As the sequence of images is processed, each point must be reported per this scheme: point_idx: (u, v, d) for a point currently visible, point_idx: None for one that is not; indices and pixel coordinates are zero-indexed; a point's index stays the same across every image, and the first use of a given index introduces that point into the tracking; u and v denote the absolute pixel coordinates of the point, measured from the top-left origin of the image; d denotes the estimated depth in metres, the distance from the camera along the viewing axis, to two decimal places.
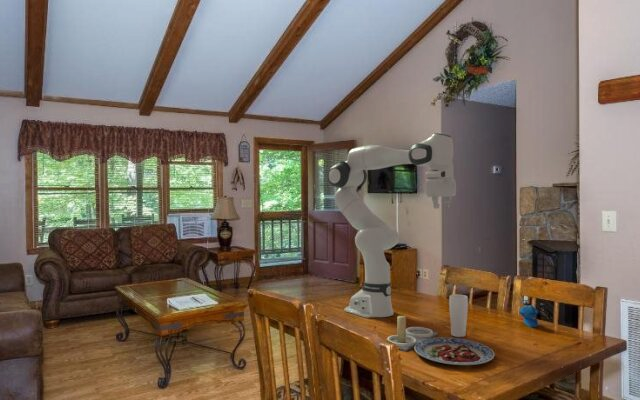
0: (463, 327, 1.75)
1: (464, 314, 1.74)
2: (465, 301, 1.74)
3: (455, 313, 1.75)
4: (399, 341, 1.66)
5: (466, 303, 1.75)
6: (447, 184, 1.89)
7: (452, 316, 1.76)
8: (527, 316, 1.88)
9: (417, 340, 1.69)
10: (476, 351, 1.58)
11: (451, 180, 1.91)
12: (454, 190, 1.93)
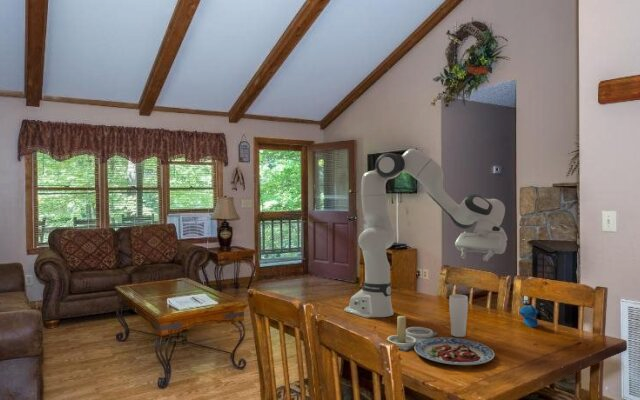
0: (463, 327, 1.75)
1: (464, 314, 1.74)
2: (465, 301, 1.74)
3: (455, 313, 1.75)
4: (399, 341, 1.66)
5: (466, 303, 1.75)
6: None
7: (452, 316, 1.76)
8: (527, 316, 1.88)
9: (417, 340, 1.69)
10: (476, 351, 1.58)
11: None
12: None
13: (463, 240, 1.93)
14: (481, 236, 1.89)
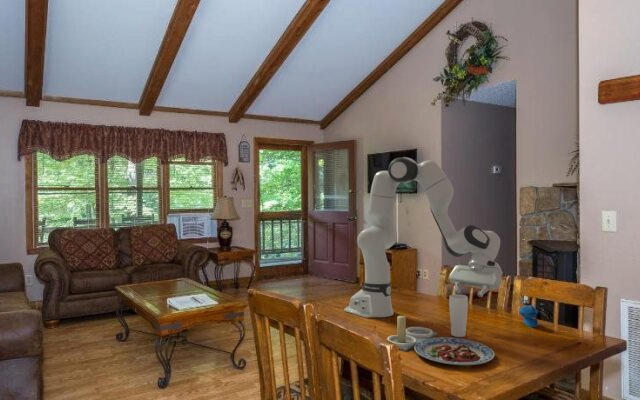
0: (463, 327, 1.75)
1: (464, 314, 1.74)
2: (465, 301, 1.74)
3: (455, 313, 1.75)
4: (399, 341, 1.66)
5: (466, 303, 1.75)
6: None
7: (452, 316, 1.76)
8: (527, 316, 1.88)
9: (417, 340, 1.69)
10: (476, 351, 1.58)
11: None
12: None
13: (457, 273, 1.90)
14: (476, 270, 1.86)
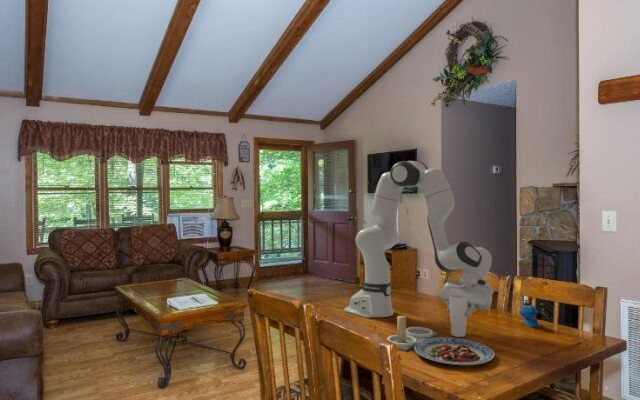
0: (463, 327, 1.75)
1: (464, 314, 1.74)
2: (465, 301, 1.74)
3: (455, 313, 1.75)
4: (399, 341, 1.66)
5: (466, 303, 1.75)
6: None
7: (452, 316, 1.76)
8: (527, 316, 1.88)
9: (417, 340, 1.69)
10: (476, 351, 1.58)
11: None
12: None
13: (447, 291, 1.84)
14: (466, 289, 1.81)
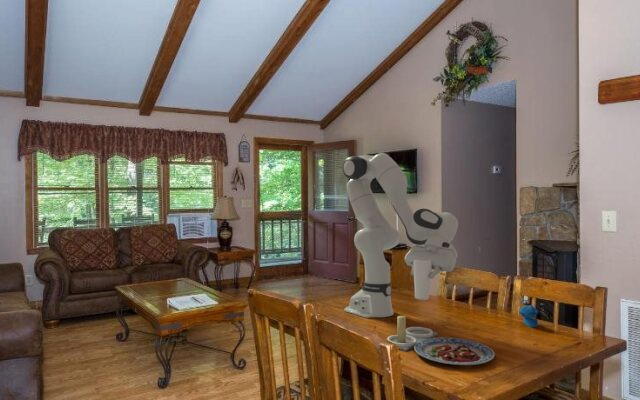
0: (426, 290, 1.75)
1: (427, 277, 1.75)
2: (429, 264, 1.74)
3: (419, 276, 1.75)
4: (399, 341, 1.66)
5: (430, 266, 1.75)
6: None
7: (416, 279, 1.76)
8: (527, 316, 1.88)
9: (417, 340, 1.69)
10: (476, 351, 1.58)
11: None
12: None
13: (413, 255, 1.84)
14: (431, 252, 1.81)
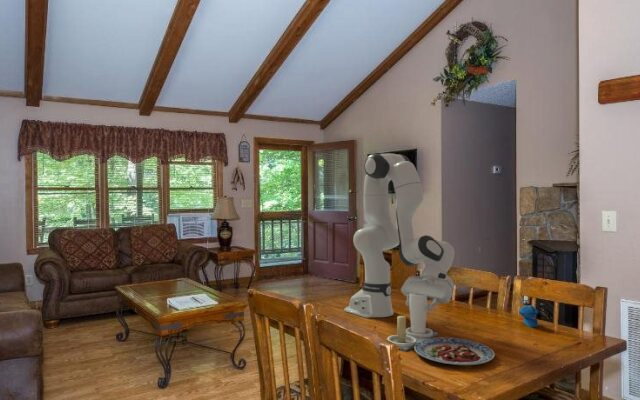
0: (422, 325, 1.75)
1: (423, 312, 1.75)
2: (424, 299, 1.75)
3: (414, 311, 1.75)
4: (399, 341, 1.66)
5: (425, 301, 1.75)
6: None
7: (411, 314, 1.76)
8: (527, 316, 1.88)
9: (417, 340, 1.69)
10: (476, 351, 1.58)
11: None
12: None
13: (409, 285, 1.84)
14: (427, 282, 1.81)
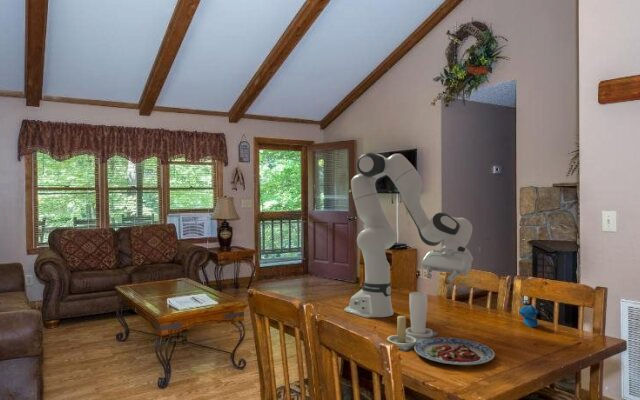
0: (422, 325, 1.75)
1: (423, 312, 1.75)
2: (424, 299, 1.75)
3: (414, 311, 1.75)
4: (399, 341, 1.66)
5: (425, 301, 1.75)
6: None
7: (411, 314, 1.76)
8: (527, 316, 1.88)
9: (417, 340, 1.69)
10: (476, 351, 1.58)
11: None
12: None
13: (429, 259, 1.92)
14: (447, 256, 1.88)
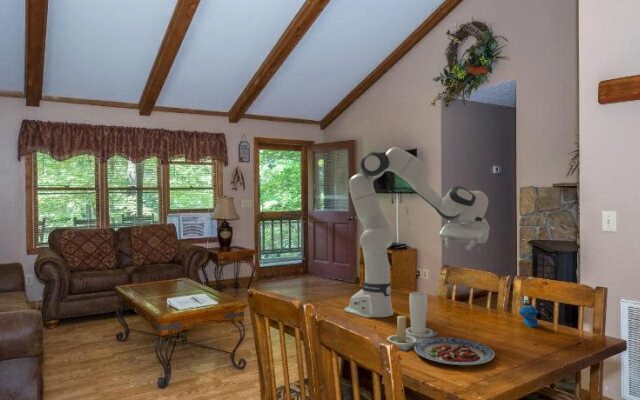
0: (422, 325, 1.75)
1: (423, 312, 1.75)
2: (424, 299, 1.75)
3: (414, 311, 1.75)
4: (399, 341, 1.66)
5: (425, 301, 1.75)
6: None
7: (412, 314, 1.76)
8: (527, 316, 1.88)
9: (417, 340, 1.69)
10: (476, 351, 1.58)
11: None
12: None
13: (447, 230, 2.00)
14: (464, 226, 1.96)
